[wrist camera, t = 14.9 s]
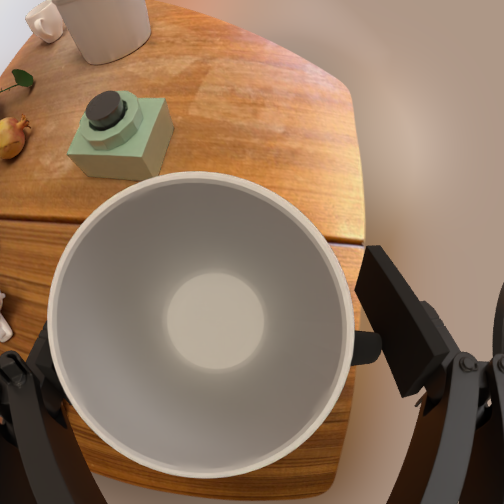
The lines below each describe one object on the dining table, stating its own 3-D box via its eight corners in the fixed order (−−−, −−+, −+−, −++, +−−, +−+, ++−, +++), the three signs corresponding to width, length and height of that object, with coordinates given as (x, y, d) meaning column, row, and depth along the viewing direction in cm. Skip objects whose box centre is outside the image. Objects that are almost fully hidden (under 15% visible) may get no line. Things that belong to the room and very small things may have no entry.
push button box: (174, 128, 33) (161, 86, 25) (156, 182, 31) (135, 146, 23) (108, 126, 32) (87, 90, 25) (87, 176, 31) (58, 145, 23)
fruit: (-21, 168, 24) (22, 123, 26) (-26, 137, 24) (14, 95, 25) (2, 177, 31) (42, 138, 33) (-5, 148, 30) (33, 112, 32)
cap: (131, 101, 25) (126, 89, 23) (117, 131, 24) (110, 119, 22) (101, 103, 25) (95, 91, 23) (87, 131, 24) (79, 120, 22)
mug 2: (136, 374, 16) (41, 426, 6) (159, 238, 17) (84, 158, 8) (322, 403, 16) (403, 478, 6) (343, 268, 18) (443, 219, 8)
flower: (30, 92, 40) (-19, 112, 32) (32, 36, 28) (-25, 56, 20) (39, 122, 38) (-19, 148, 30) (38, 56, 26) (-32, 83, 18)
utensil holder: (84, 79, 34) (47, 7, 17) (78, 46, 37) (52, -13, 20) (162, 43, 37) (146, -37, 19) (143, 16, 39) (129, -47, 22)
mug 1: (43, 39, 38) (28, 10, 27) (71, 23, 39) (57, -7, 28) (36, 60, 36) (17, 29, 25) (67, 43, 37) (50, 8, 26)
